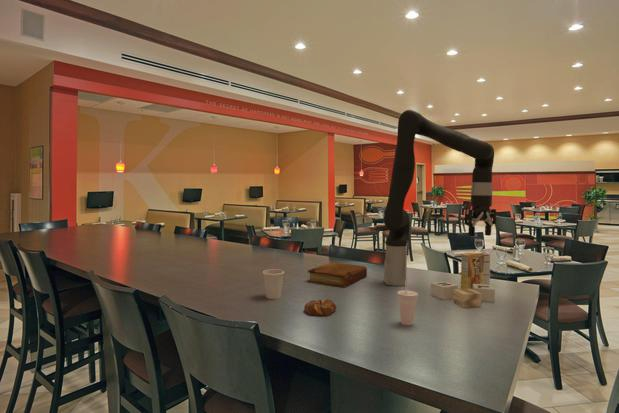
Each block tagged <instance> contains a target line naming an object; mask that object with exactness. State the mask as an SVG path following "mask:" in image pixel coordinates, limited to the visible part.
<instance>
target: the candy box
mask: <svg viewBox="0 0 619 413" xmlns="http://www.w3.org/2000/svg"><path fill="white" fill-rule="evenodd" d="M483 265H484V254H482V253H477V252H476V253H474V252H468V253H461V266H460V268H461V269H460V288H459V289H473V284H483Z"/></svg>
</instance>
